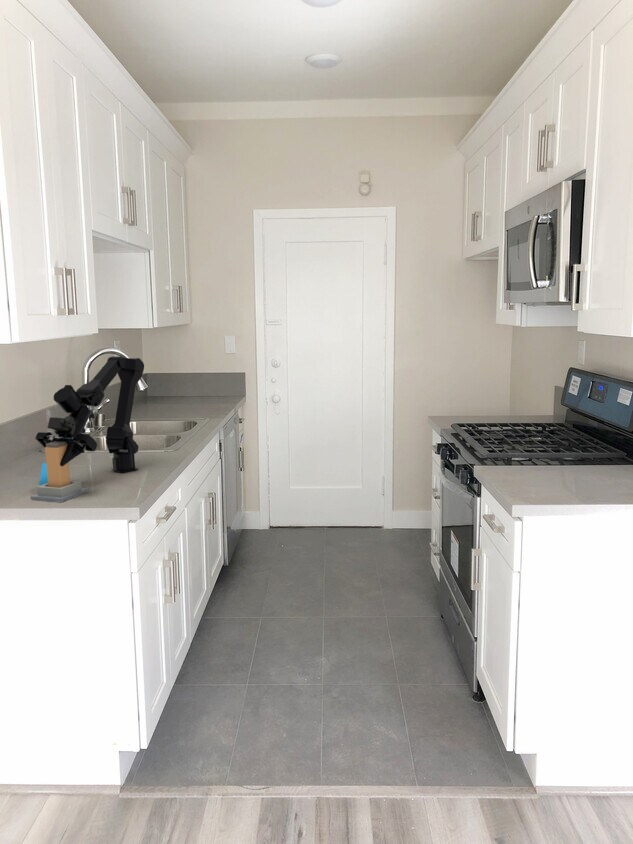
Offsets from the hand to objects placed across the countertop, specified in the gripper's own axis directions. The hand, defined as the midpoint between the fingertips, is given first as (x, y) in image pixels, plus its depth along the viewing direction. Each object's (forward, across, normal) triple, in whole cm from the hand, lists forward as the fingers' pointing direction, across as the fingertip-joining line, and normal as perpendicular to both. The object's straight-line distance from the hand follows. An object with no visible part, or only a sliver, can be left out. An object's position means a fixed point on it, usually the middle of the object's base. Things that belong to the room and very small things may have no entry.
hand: (54, 465), depth 202 cm
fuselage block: (+4, 0, +6) cm, 7 cm away
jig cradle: (+6, 0, +8) cm, 10 cm away
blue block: (-2, -12, +17) cm, 21 cm away
